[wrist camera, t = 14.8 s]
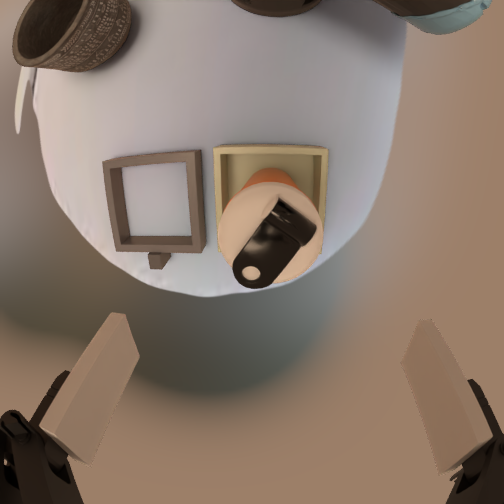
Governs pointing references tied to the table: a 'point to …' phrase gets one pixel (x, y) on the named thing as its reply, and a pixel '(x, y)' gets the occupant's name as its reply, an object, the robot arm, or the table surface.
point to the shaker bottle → (269, 230)
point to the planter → (70, 33)
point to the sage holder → (270, 156)
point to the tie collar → (156, 244)
